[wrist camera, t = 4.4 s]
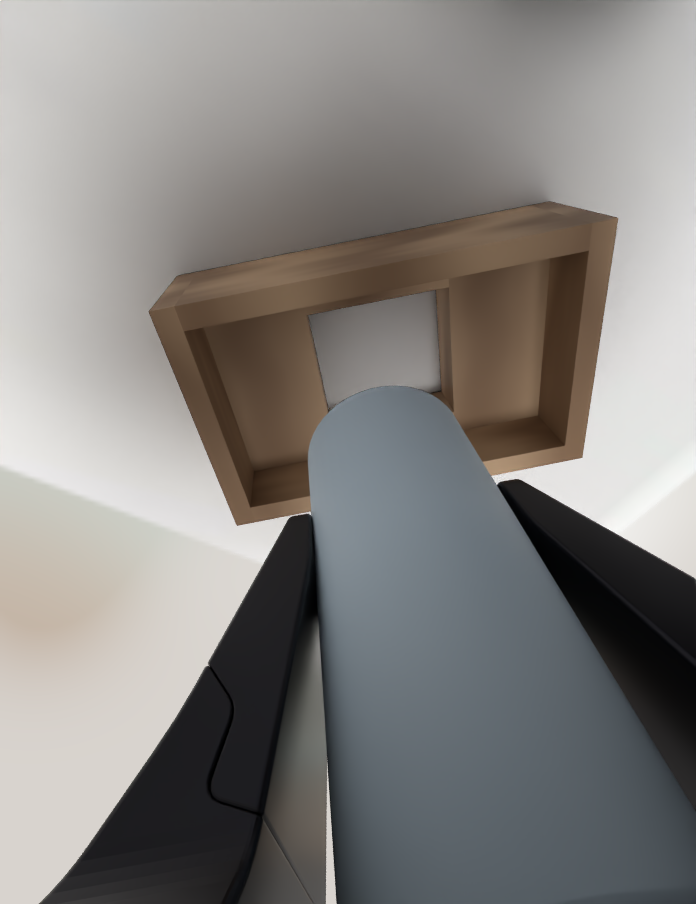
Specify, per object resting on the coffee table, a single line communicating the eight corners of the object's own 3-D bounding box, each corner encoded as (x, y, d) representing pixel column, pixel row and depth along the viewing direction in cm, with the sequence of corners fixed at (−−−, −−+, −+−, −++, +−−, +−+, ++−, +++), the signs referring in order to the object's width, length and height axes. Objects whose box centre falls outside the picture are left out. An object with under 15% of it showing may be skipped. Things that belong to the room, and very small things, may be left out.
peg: (463, 373, 10) (829, 853, 3) (461, 503, 12) (681, 961, 5) (294, 400, 10) (310, 948, 3) (321, 526, 12) (365, 1021, 5)
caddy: (549, 201, 18) (618, 217, 14) (534, 406, 23) (582, 457, 19) (177, 275, 18) (148, 311, 14) (245, 463, 23) (236, 525, 19)
